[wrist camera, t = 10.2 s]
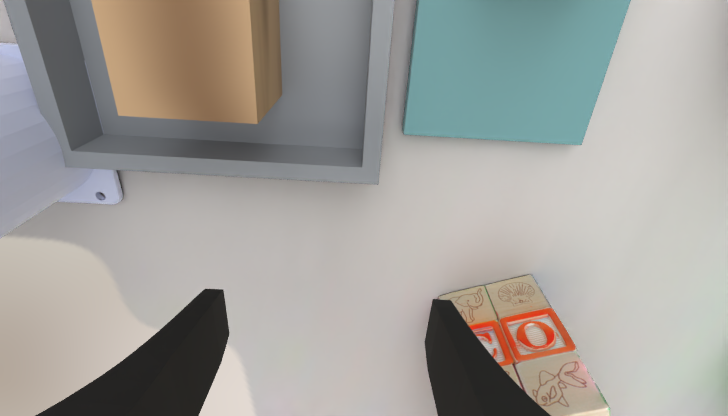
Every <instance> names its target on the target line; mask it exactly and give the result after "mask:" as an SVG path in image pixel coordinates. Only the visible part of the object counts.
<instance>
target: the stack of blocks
mask: <svg viewBox="0 0 728 416" xmlns="http://www.w3.org/2000/svg"><path fill="white" fill-rule="evenodd" d="M438 298H439V300H451V301H452V303H453V304H454V305H455V307H456V308H457V310H458V311H459V313H460V314H461V316H462V317H463V318H464V320H465V321H466V323H467V324H468V325H469V327H470V328H471V330H472V331H473V332H474V334H475V335H476V336H477V338H478V339H479V340H480V341H481V343H482V344H483V345H484V347H485V348H486V349H487V350H488V352H489V353H490V354H491V355H492V357H493V358H494V359H495V360H496V361H497V362H498V364H499V365H500V366H501V367H502V368H503V369H504V371H505V372H506V373H507V374H508V375H509V376H510V377H511V378H512V379H513V380H514V381H515V382H516V383H517V384H518V385H519V386H520V387H521V388H522V389H523V390H524V391H525V392H526V393H527V394H528V395H529V396H530V397H531V398H532V399H533V400H534V401H535V402H536V403H537V404H538V405H539V406H541V407H542V408H543V409H544V410H545V411H546V412H548V413H549V414H550V415H551V416H610V407H609V406H608V404H607V402H606V400H605V399H604V397H603V395H602V394H601V392H600V390H599V388H598V387H597V385H596V383H595V382H594V380H593V379H592V377H591V375H590V374H589V372H588V370H587V369H586V367H585V365H584V364H583V362H582V361H581V359H580V357H579V355H578V354H577V348H576V346H575V344H574V342H573V341H572V339H571V337H570V336H569V334H568V332H567V331H566V329H565V327H564V326H563V324H562V323H561V321H560V319H559V318H558V316H557V315H556V313H555V311H554V310H553V309H552V308H551V306H550V304H549V302H548V300H547V299H546V297H545V296H544V294H543V292H542V291H541V289H540V288H539V286H538V284H537V283H536V281H535V279H534V278H533V276H532V275H527V276H522V277H518V278H513V279H509V280H504V281H500V282H496V283H492V284H488V285H485V286H477V287H473V288H469V289H465V290H461V291H457V292H452V293H449V294H445V295H442V296H439V297H438Z"/></svg>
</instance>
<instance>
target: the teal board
mask: <svg viewBox="0 0 728 416" xmlns="http://www.w3.org/2000/svg"><path fill="white" fill-rule="evenodd" d="M630 1H631V0H417V3H416V12H415V21H414V30H413V39H412V48H411V57H410V65H409V74H408V83H407V92H406V101H405V110H404V119H403V128H402V130H403V134H405V135H421V136H438V137H455V138H471V139H488V140H505V141H522V142H538V143H555V144H572V145H582V142H583V139H584V136H585V133H586V130H587V127H588V124H589V121H590V118H591V115H592V112H593V109H594V106H595V104H596V101H597V98H598V95H599V92H600V89H601V86H602V83H603V80H604V77H605V74H606V71H607V68H608V65H609V62H610V59H611V57H612V54H613V51H614V48H615V45H616V42H617V39H618V36H619V33H620V30H621V27H622V24H623V21H624V18H625V15H626V12H627V10H628V7H629V4H630Z"/></svg>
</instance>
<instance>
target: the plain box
mask: <svg viewBox="0 0 728 416" xmlns="http://www.w3.org/2000/svg"><path fill="white" fill-rule="evenodd" d="M91 2H92V6H93V10H94V14H95V19H96V23H97V27H98V31H99V35H100V40H101V44H102V48H103V52H104V57H105V61H106V65H107V69H108V74H109V78H110V82H111V86H112V90H113V95H114V99H115V103H116V107H117V112H118V116H132V117H149V118H166V119H182V120H199V121H216V122H232V123H249V124H258V123H259V122H260V121H261V119H262V118H263V117H264V116H265V115H266V113H267V112H268V111H269V110H270V109H271V108H272V106H273V105H274V104H275V103H276V102H277V100H278V99H279V98H280V97H281V96H282V72H281V44H280V16H279V0H91Z"/></svg>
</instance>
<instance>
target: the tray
mask: <svg viewBox="0 0 728 416" xmlns="http://www.w3.org/2000/svg"><path fill="white" fill-rule="evenodd" d="M3 1H4V4H5V7H6V10H7V13H8V16H9V19H10V22H11V25H12V28H13V31H14V34H15V37H16V40H17V43H18V46H19V49H20V52H21V55H22V58H23V61H24V64H25V68H26V71H27V74H28V77H29V80H30V83H31V86H32V89H33V92H34V95H35V98H36V101H37V104H38V107H39V110H40V113H41V115H42V116H43V117H44V118H45V120H46V121H47V123H48V124H49V126H50V127H51V129H52V131H53V132H54V134H55V135H56V138H57V140H58V142H59V145H60V147H61V149H62V153H63V158H64V162H65V167H70V168H88V169H106V170H124V171H142V172H160V173H178V174H196V175H214V176H232V177H250V178H268V179H287V180H305V181H323V182H341V183H359V184H377V185H378V184H379V172H380V161H381V150H382V138H383V127H384V116H385V104H386V93H387V82H388V70H389V59H390V48H391V36H392V25H393V14H394V2H395V0H279V16H280V44H281V72H282V96H281V97H280V98H279V99H278V100H277V102H276V103H275V104H274V105H273V106H272V108H271V109H270V110H269V111H268V112H267V113H266V115H265V116H264V117H263V118H262V119H261V121H260V122H259V123H258V124H249V123H232V122H216V121H199V120H182V119H166V118H149V117H132V116H118V112H117V107H116V103H115V99H114V95H113V90H112V86H111V82H110V78H109V74H108V69H107V65H106V61H105V57H104V52H103V48H102V44H101V40H100V35H99V31H98V27H97V23H96V19H95V14H94V10H93V6H92V2H91V0H3ZM84 60H85V62H84ZM85 63H86V65H85ZM86 67H87V69H86ZM87 70H88V73H87ZM88 74H89V77H88ZM89 78H90V81H89ZM90 82H91V85H90ZM91 86H92V88H91ZM92 90H93V92H92ZM93 93H94V96H93ZM94 97H95V100H94ZM95 101H96V104H95ZM96 105H97V108H96ZM97 109H98V111H97ZM98 113H99V115H98ZM99 117H100V119H99ZM100 120H101V123H100ZM101 124H102V127H101ZM102 128H103V131H102ZM103 132H104V134H103Z"/></svg>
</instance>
